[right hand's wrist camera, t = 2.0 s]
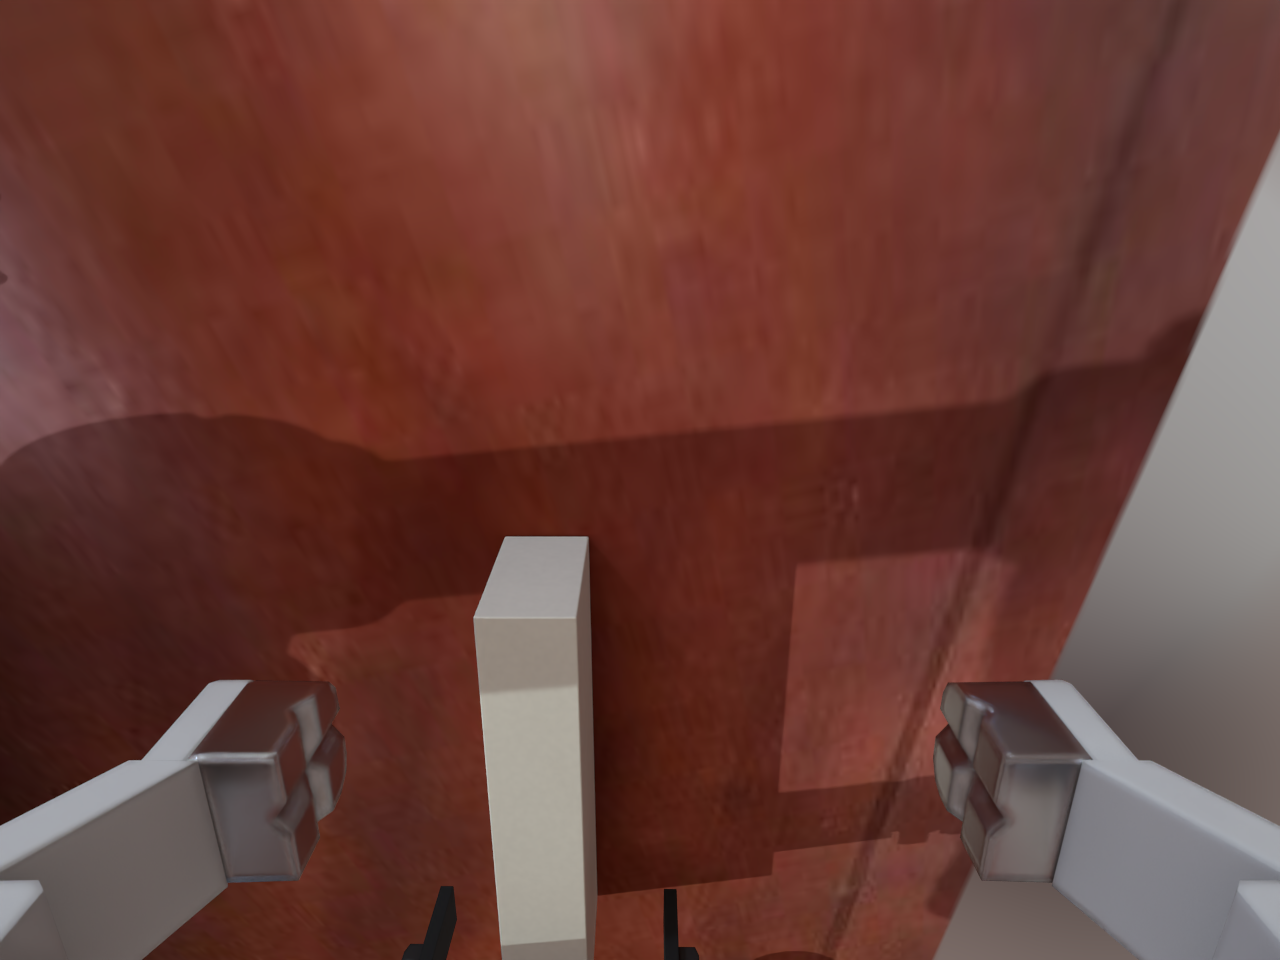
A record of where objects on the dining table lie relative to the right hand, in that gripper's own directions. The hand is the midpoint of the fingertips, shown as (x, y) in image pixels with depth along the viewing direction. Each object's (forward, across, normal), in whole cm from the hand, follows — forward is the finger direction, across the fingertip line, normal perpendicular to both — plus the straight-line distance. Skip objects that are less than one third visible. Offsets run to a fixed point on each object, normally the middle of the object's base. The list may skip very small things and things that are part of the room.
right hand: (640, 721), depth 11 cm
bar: (+32, -5, -25) cm, 41 cm away
